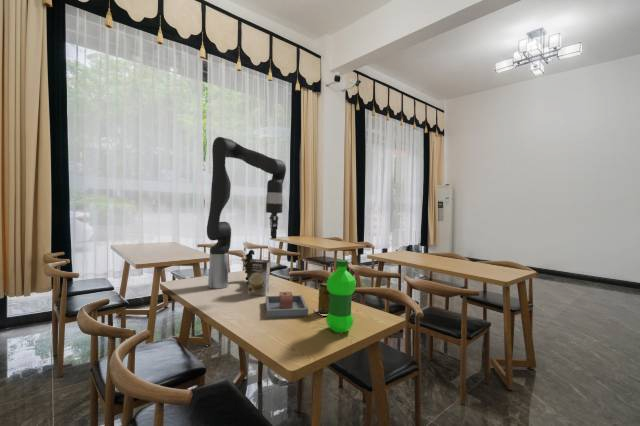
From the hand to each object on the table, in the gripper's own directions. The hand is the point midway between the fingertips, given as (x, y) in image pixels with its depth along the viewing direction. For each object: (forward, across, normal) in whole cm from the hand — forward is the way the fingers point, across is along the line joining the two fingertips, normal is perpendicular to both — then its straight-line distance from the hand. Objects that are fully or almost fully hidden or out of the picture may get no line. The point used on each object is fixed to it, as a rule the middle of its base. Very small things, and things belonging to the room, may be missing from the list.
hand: (273, 237), depth 144 cm
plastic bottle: (+28, +40, +22) cm, 54 cm away
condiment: (+28, +23, +21) cm, 42 cm away
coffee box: (+28, -6, -6) cm, 30 cm away
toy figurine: (+28, -21, -7) cm, 36 cm away
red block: (+28, +17, +5) cm, 33 cm away
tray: (+28, +17, +5) cm, 33 cm away
